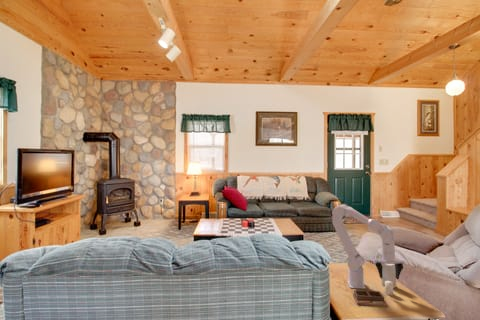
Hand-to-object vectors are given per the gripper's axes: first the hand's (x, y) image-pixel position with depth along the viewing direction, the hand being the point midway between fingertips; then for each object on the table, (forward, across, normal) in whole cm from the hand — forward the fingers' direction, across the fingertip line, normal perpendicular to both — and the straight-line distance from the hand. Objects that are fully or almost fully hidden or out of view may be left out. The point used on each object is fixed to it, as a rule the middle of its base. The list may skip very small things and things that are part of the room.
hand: (389, 278), depth 143 cm
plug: (+8, 0, 0) cm, 8 cm away
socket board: (+8, -12, -9) cm, 17 cm away
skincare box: (+8, +3, +10) cm, 13 cm away
